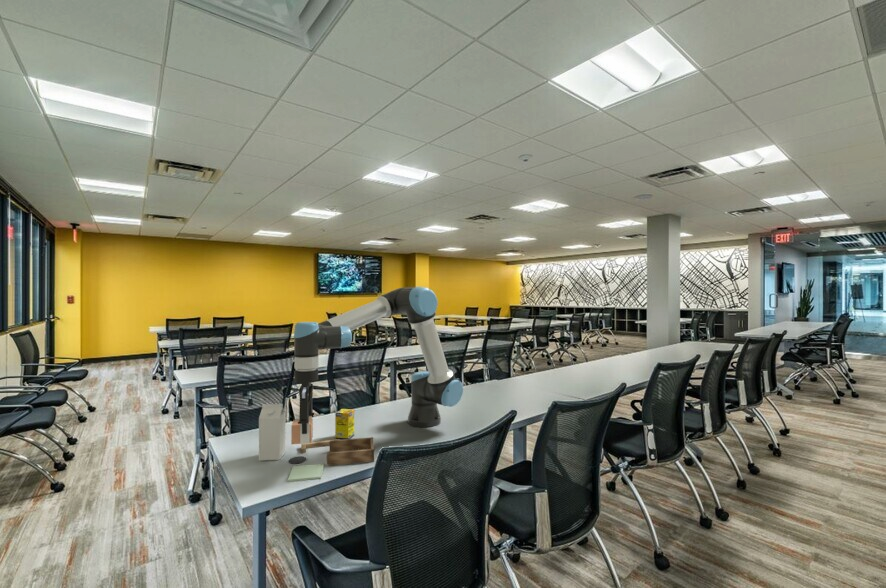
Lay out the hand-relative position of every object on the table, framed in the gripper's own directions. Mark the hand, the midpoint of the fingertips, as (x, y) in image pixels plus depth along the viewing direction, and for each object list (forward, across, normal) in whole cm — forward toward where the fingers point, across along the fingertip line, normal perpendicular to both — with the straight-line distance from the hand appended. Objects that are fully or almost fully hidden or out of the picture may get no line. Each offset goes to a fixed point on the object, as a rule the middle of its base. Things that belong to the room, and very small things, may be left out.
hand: (306, 439), depth 133 cm
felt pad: (+11, 0, 0) cm, 11 cm away
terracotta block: (0, 0, -1) cm, 1 cm away
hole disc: (+11, -12, -4) cm, 17 cm away
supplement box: (+11, -32, +11) cm, 36 cm away
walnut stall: (+11, -12, +14) cm, 21 cm away
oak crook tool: (+11, -22, +3) cm, 25 cm away
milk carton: (+11, -17, -14) cm, 25 cm away
